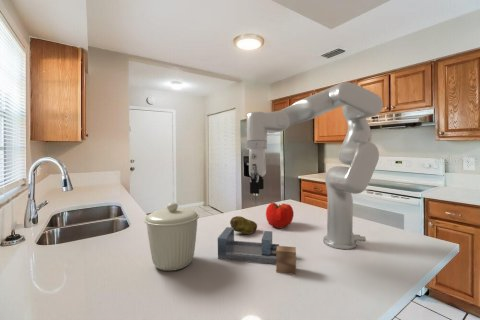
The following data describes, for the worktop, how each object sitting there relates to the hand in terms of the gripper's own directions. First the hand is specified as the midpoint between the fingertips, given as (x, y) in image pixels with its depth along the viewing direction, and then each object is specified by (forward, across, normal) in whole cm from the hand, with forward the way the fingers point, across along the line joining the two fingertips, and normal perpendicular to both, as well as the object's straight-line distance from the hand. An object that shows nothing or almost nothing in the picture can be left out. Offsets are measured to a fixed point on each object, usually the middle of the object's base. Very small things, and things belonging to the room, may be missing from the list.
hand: (257, 191), depth 87 cm
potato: (+24, +18, +10) cm, 31 cm away
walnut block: (+23, -11, -12) cm, 28 cm away
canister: (+24, -16, +26) cm, 39 cm away
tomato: (+23, +32, -6) cm, 40 cm away
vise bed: (+23, -3, +2) cm, 23 cm away
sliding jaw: (+21, -2, -8) cm, 23 cm away
